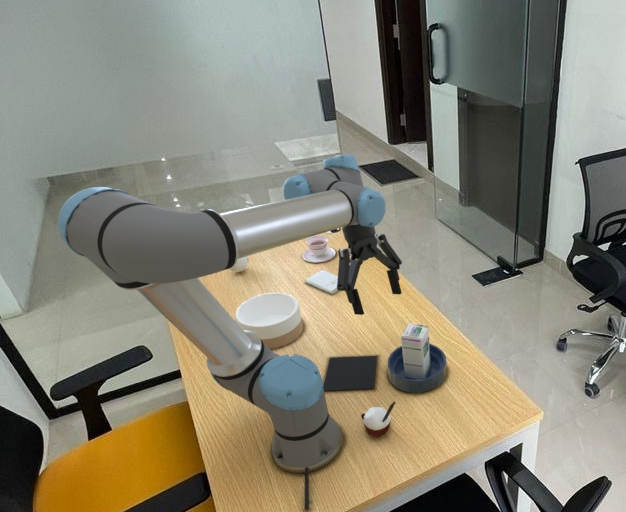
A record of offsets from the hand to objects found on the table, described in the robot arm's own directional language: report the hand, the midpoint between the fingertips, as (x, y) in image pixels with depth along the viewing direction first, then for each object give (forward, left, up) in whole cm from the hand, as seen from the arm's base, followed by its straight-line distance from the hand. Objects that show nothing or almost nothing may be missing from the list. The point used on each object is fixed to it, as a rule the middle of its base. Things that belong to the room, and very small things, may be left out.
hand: (379, 303), depth 127 cm
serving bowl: (-5, -9, -20) cm, 23 cm away
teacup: (+62, +28, -20) cm, 71 cm away
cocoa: (-25, 0, -20) cm, 32 cm away
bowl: (+16, +34, -20) cm, 43 cm away
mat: (-4, +9, -20) cm, 22 cm away
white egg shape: (+52, +54, -16) cm, 77 cm away
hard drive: (+42, +22, -20) cm, 52 cm away
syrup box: (-5, -9, -20) cm, 22 cm away
